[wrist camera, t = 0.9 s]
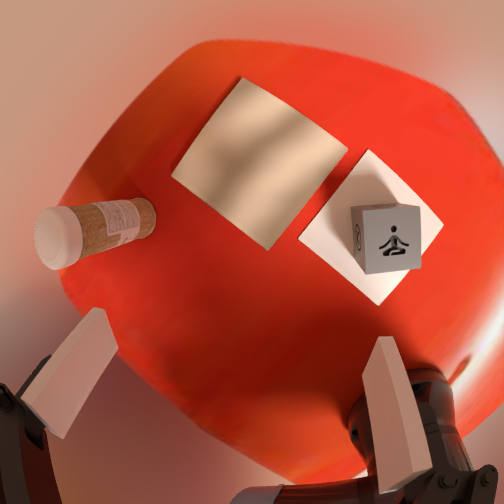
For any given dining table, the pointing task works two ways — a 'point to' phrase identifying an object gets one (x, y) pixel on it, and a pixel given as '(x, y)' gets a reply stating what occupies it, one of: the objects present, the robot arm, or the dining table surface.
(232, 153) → the birch coaster
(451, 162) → the dining table surface
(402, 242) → the dice cube
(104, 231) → the sprinkles bottle
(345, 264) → the white tile
